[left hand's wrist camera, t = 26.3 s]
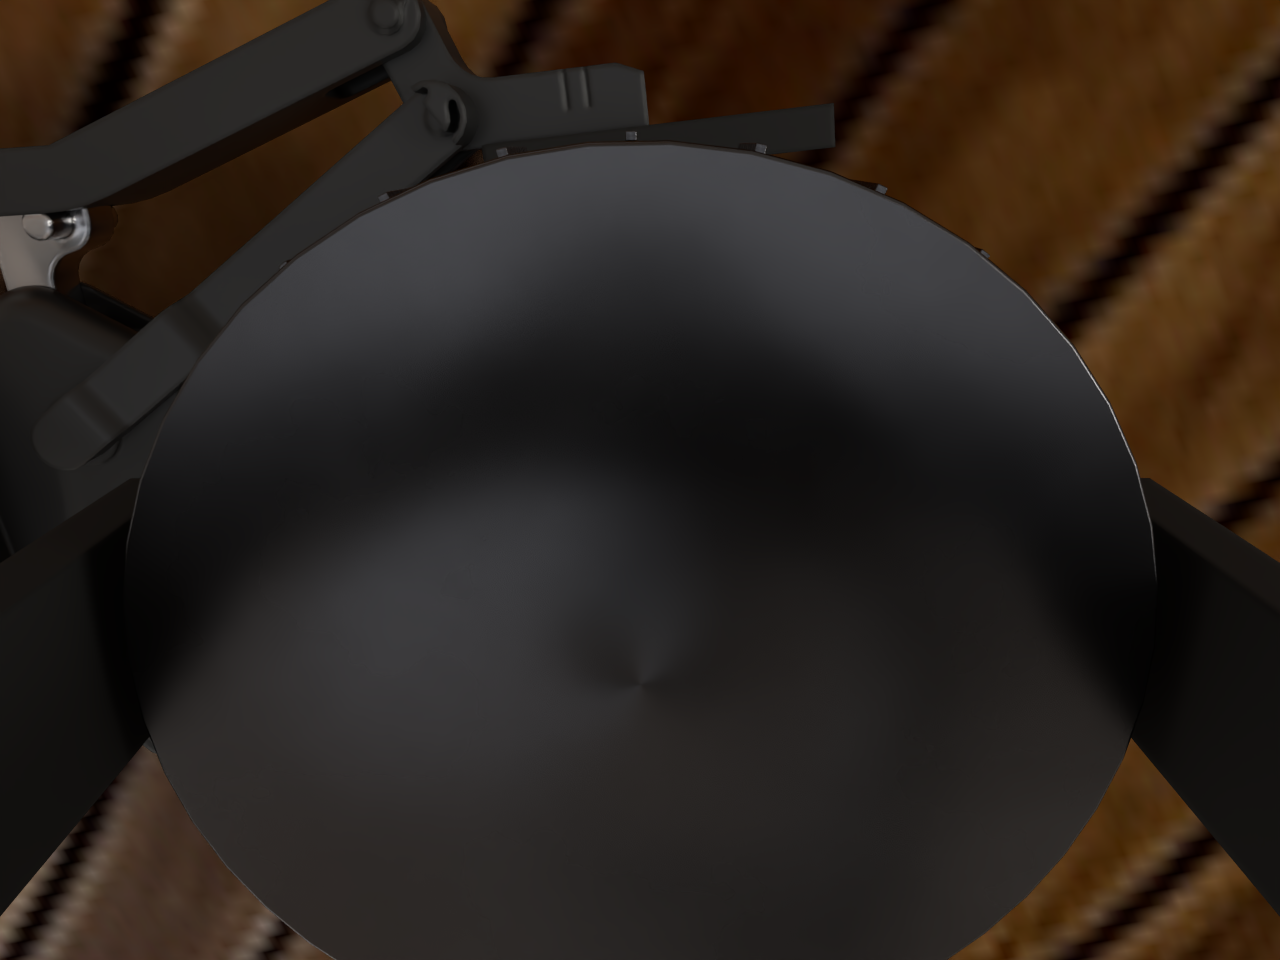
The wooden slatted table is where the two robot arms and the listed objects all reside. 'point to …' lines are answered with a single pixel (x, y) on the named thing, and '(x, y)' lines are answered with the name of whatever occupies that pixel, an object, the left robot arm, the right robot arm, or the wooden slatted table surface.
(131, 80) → the wooden slatted table surface
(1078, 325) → the wooden slatted table surface
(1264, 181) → the wooden slatted table surface
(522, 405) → the lid
